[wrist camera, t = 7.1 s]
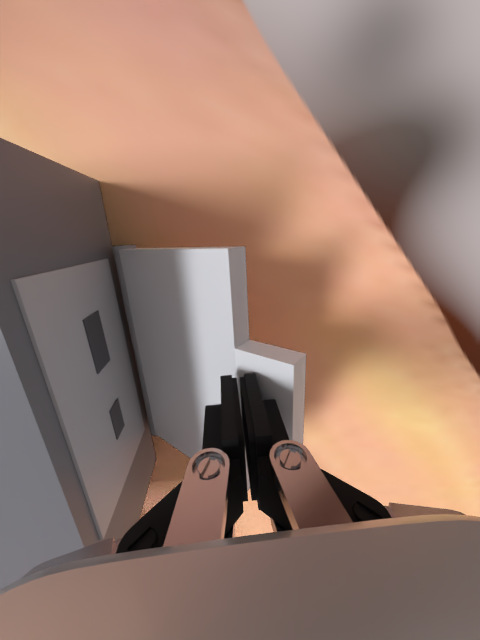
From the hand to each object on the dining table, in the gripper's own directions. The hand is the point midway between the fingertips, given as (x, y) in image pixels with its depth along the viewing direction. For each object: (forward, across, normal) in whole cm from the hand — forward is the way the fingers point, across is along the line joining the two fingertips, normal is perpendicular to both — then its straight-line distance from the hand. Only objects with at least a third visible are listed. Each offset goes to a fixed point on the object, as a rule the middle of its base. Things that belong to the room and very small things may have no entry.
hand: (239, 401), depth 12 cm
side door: (+7, +6, 0) cm, 9 cm away
